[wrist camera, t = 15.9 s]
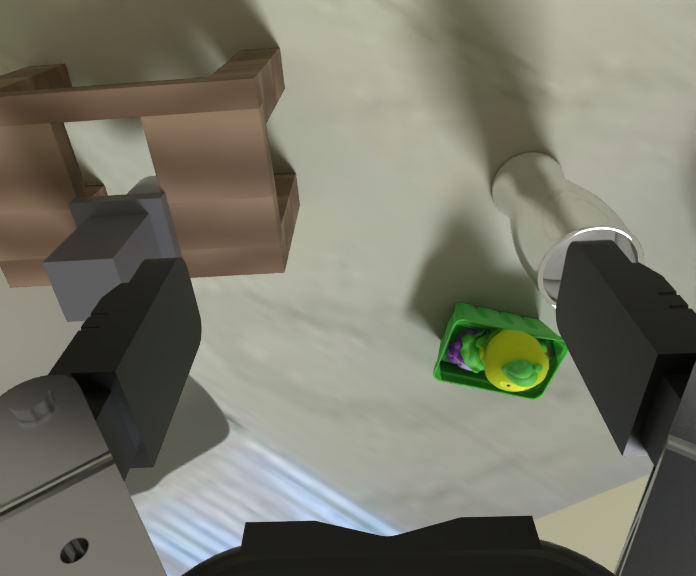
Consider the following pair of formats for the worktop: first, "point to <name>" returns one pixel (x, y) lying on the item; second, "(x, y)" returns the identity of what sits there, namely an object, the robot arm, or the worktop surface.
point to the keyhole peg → (110, 245)
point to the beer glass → (553, 218)
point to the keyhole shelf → (168, 159)
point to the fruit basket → (498, 352)
